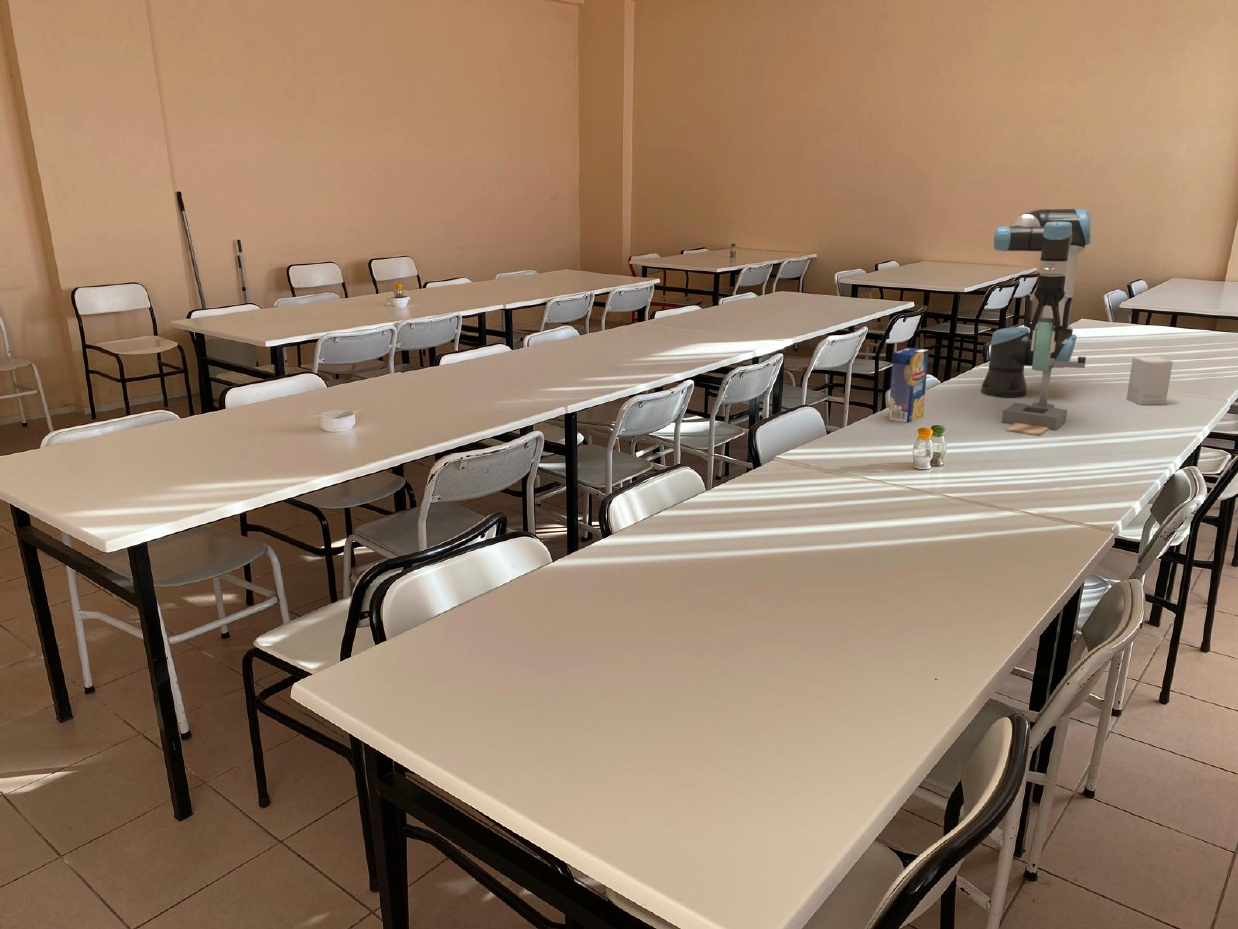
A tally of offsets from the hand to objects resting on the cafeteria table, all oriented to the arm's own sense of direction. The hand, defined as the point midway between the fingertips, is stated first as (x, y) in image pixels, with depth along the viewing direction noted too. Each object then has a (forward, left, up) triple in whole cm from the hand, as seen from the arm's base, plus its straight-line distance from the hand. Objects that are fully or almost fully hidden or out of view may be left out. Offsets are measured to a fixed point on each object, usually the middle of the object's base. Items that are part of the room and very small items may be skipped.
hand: (1042, 350), depth 276 cm
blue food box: (-35, -17, -23) cm, 45 cm away
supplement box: (+23, +48, -23) cm, 58 cm away
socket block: (0, +2, -23) cm, 23 cm away
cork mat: (+1, -10, -23) cm, 25 cm away
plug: (0, 0, -6) cm, 6 cm away
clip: (+4, +10, -6) cm, 12 cm away
